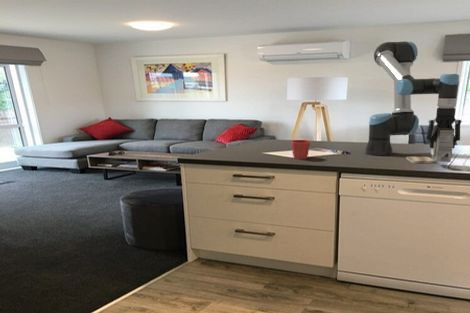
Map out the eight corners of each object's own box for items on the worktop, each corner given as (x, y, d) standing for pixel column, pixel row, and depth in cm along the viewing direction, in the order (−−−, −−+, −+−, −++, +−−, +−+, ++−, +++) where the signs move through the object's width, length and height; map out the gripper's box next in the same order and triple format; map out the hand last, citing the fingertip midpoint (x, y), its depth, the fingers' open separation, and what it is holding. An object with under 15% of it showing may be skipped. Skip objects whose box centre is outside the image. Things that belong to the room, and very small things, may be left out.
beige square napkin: (413, 163, 172) (413, 160, 172) (406, 158, 183) (406, 156, 183) (436, 163, 170) (436, 161, 170) (427, 158, 181) (428, 156, 181)
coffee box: (430, 157, 169) (434, 125, 166) (445, 158, 168) (448, 126, 164) (435, 161, 161) (439, 128, 157) (450, 162, 159) (454, 128, 156)
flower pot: (311, 156, 197) (311, 139, 195) (308, 160, 187) (308, 142, 185) (292, 155, 200) (293, 139, 198) (289, 159, 190) (289, 142, 188)
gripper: (427, 108, 157) (422, 156, 162) (473, 107, 154) (467, 156, 159) (421, 107, 164) (416, 153, 169) (465, 106, 161) (459, 153, 166)
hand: (441, 154), depth 164 cm, fingers closed on coffee box, 7 cm apart
